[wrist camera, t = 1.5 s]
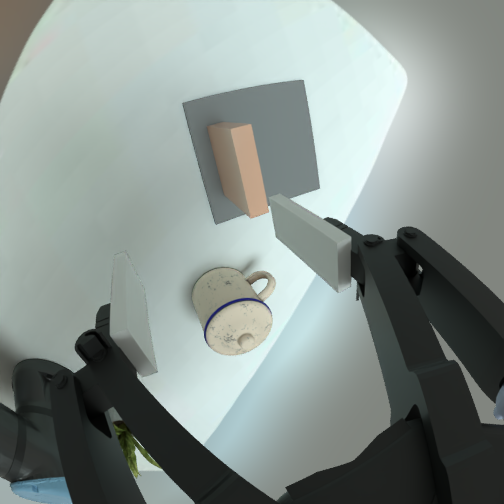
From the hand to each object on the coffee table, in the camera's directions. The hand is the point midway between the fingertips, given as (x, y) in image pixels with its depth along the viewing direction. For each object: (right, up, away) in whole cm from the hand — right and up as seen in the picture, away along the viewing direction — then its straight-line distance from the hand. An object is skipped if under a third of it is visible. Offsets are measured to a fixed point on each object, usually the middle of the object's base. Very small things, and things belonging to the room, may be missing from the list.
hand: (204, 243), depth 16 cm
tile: (-1, +11, +17) cm, 20 cm away
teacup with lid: (-1, -5, +26) cm, 27 cm away
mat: (+4, +13, +19) cm, 23 cm away
